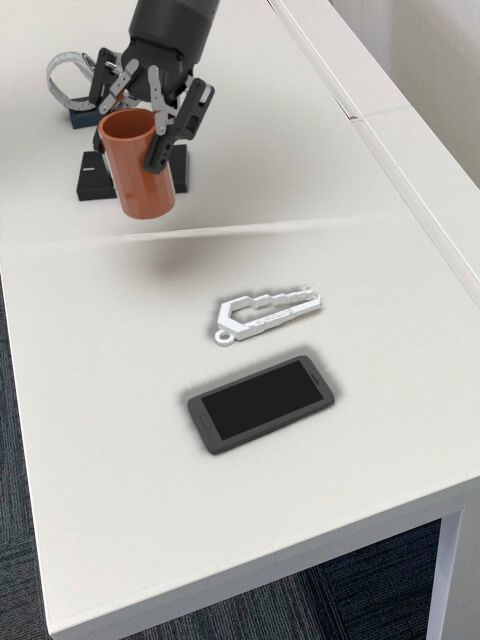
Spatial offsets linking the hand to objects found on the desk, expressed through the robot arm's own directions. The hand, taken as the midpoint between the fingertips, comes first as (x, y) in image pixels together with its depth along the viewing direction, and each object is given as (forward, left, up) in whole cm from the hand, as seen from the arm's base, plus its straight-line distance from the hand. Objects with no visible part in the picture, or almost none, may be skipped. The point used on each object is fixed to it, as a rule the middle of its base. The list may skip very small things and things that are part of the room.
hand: (125, 162), depth 81 cm
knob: (-5, +19, -13) cm, 24 cm away
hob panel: (-3, +19, -16) cm, 25 cm away
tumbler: (+1, +1, -6) cm, 7 cm away
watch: (-11, +35, -17) cm, 40 cm away
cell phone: (+12, -21, -16) cm, 29 cm away
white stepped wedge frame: (+13, -8, -17) cm, 22 cm away
